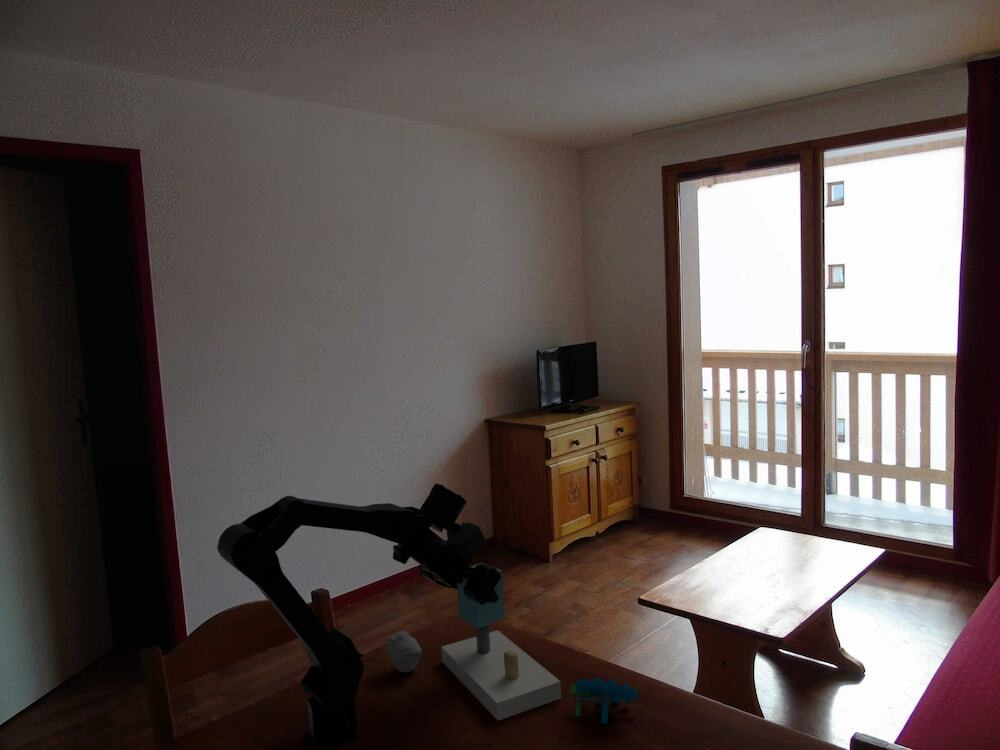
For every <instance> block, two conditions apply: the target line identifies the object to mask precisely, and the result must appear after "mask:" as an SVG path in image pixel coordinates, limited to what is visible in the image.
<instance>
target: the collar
mask: <svg viewBox="0 0 1000 750" xmlns="http://www.w3.org/2000/svg"><path fill="white" fill-rule="evenodd" d="M482 563H483V562H480V563H478V564H477V563H476V564H475V565H472V566H470V567H472V568H474V569H475V568H476V566H477V565H479V564H482ZM494 568H495V569H497V570H498V571H499V572H500V573H501V578H500V580H499V582H498V583H497V585H496V587H495V589H494V590H495V592H496V593H497V595H498V597H499V599H498V601H497V602H496V603H492V602H486V603H485V604H484V605H481V604H479V603H477V602H474V601H472V600H470V599H468V598H467V596H465V595H464V586H465V584H466V583H467V580H465V579H463V578H462V579H463V582H462V583H461V584H457V589H456V590H457V605H458V619H460V620H462V621H463V622H465V623H467V624H469V625H470V626H472V627H475V629H476V628H478V629H479V628H481V627H484V626H486V625H489V626H490V625H492V624H494V623H496V622H499V621H501V620H504V619H505V617H506V616H505V601H504V599H505V598H504V582H503V571H502V570H501V569H499V568H497V567H494ZM468 573H469V572H468ZM470 574H471V573H470Z"/></svg>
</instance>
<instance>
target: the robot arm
mask: <svg viewBox="0 0 1000 750" xmlns="http://www.w3.org/2000/svg"><path fill="white" fill-rule="evenodd" d="M466 505H467V500H466V499H465V498H464V497H463V496H462V495H461V494H458V493H456V492H454V491H452V490H451V489H449V488H447V487H445V485H443V484H441V483H437V482H436V483H434V485H433V486H432V488H431V490H430V493H429V494H428V496H427V497H426V499H425V500H424V501H423V503H422V505H421V507H419V508H418V507H415V506H410V505H409V506H399V505H397V504H393V503H392V502H391V503H389V502H385V503H373V504H369V505H363V506H361V505H360V506H357V505H351V504H343V503H335V502H329V501H322V500H313V499H305V498H299V497H296V496H293V495H286V496H284V497H282V498H280V499H279V500H277V501H275V502H274V503H273V504H272V505H270V506H268V507H266V508H264V509H262V510H260V511H258V512H256V513H254V514H251V515H250V516H248V517H247V518H246V519H244V520H243V521H242V522H240V523H236V524H235V523H234V524H232V525H230V526H228V527H227V528H226V529H224V531H222V532H221V535H220V537H219V539H218V542H217V546H216V548H217V552H218V554H219V556H220V557H221V558H223V560H224V561H226V562H227V563H229V564H230V565H231V566H232V567H234V568H235V569H236V570H237V571H238V572H240V573H241V574H242V575H243V576H244V577H245V578H247V579H248V580H250V581H251V582H252V583H253V584H254V585H255V586H256V587H257V588H258V590H260V592H261V593H262V594H263V595H264V597H265V598H266V599H267V600H268V602H269V603H270V605H272V607H273V608H274V609H275V610H276V611H277V613H278V614H279V615H280V617H281V618H282V619H283V621H284V622H285V624H287V625H288V627H289V628H290V630H292V632H293V633H294V634H295V636H297V638H298V639H299V640H300V642H301V643H302V644H303V646H304V648H305V652H306V656H307V659H308V660H309V663H310V665H311V666H310V667H309V668H308V671H307V672H306V673H305V675H304V676H303V677H302V680H300V683H299V684H300V686H301V688H302V690H303V692H304V694H306V695H308V696H309V698H307V708H308V720H309V727H307V732H308V735H309V737H310V739H311V742H312V744H313V745H314V749H315V750H324V749H327V748H331V747H333V746H336V745H339V744H342V743H345V742H348V741H351V740H354V739H357V738H358V733H357V731H356V728H357V727H358V722H357V709H356V702H355V701H356V698H357V693H358V688H359V685H360V684H359V683H360V681H361V679H362V678H363V674H364V670H365V663H364V662H363V660H362V658H363V657H364V655H365V654H363V653H362V652H360V651H359V650H358V649H356V646H355V644H354V643H353V641H352V639H351V638H350V637H348V635H346V634H344V633H343V632H341V631H340V630H338V629H337V628H336V627H335V626H332V628H331V629H330V631H329V630H328V629H327V628H326V627H325V625H324V624H323V623H322V621H321V620H320V618H318V616H317V615H316V614H315V612H314V611H313V609H312V608H311V607H310V605H309V604H308V603H307V602H306V601H305V600H304V598H303V597H302V596H301V594H300V593H299V592H298V590H297V589H296V588H295V587H294V585H293V584H292V582H291V581H290V580H289V579H288V577H287V576H286V575H285V573H284V572H283V569H282V567H281V563H280V559H279V555H278V554H277V551H278V550H280V549H282V547H284V545H285V544H286V543H287V541H288V540H289V539H290V538H291V536H292V535H293V534H294V533H295V532H296V530H298V529H299V528H300V527H301V526H305V527H313V528H314V527H315V528H323V529H333V530H342V531H351V532H360V533H366V534H369V535H371V536H375V537H378V538H381V539H382V540H386V541H390V542H392V543H396V544H395V545H393V546H392V550H393V551H392V552H393V553H392V559H393V560H394V561H396V562H398V563H400V564H402V565H406V564H407V562H408V561H409V559H410V558H411V559H412V560H413V561H415V562H416V563H418V564H419V568H418V569H419V574H420V575H422V576H423V577H424V578H425V579H427V580H429V581H432V582H433V583H434V582H435V584H437V585H439V586H441V587H444V588H448V589H452V590H453V589H454V590H457V584H461V583H462V582H463V579H465V580H467V583H466V584H465V586H464V595H465V596H467V598H468V599H470V600H472V601H474V602H477V603H479V604H481V605H484V604H485V603H486V602H492V603H496V602H497V601H498V599H499V597H498V595H497V593H496V592H495V590H494V589H495V587H496V585H497V583H498V582H499V580H500V578H501V573H500V572H499V571H498V570H497V569H498V568H496V567H494V566H492V565H489V564H487V563H483V562H481V563H482V564H480V563H478V564H479V565H477V564H476V565H477V566H476V568H475V569H474V568H472V567H471V566H469V565H470V564H471V563H472V561H473V560H474V558H473V556H471V555H473V553H475V552H476V551H477V550H479V549H480V547H481V546H484V545H485V544H486V543H487V539H486V536H485V535H484V533H483V531H482V529H481V527H480V526H479V525H477V524H474V523H472V522H461V524H460V523H457V522H456V521H457V520H458V518H459V517H460V515H461V513H462V512H463V510H464V508H465V507H466ZM431 528H432V529H433V530H432V529H431ZM434 530H435V531H437V532H439V533H443V531H446V537H447V540H445V539H443V538H442V537H440V536H439V535H438V534H437V533H435V531H434ZM495 568H496V569H495ZM468 572H469V573H468ZM470 573H471V574H470ZM462 578H463V579H462Z"/></svg>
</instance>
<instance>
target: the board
mask: <svg viewBox="0 0 1000 750" xmlns="http://www.w3.org/2000/svg"><path fill="white" fill-rule="evenodd" d="M441 658H442V659H441V661H442V663H443V664H444V665H445V667H447V668H448V669H449V671H450V672H451V673H452V674H454V676H455V677H456V678H457V679H458V680H459V681H460V683H462V685H464V686H465V688H467V690H469V692H470V693H471V694H472V695H473V696H474V697H475V698H476V699H477V701H479V702H480V703H481V704H482V705H483V707H484V708H485V709H486V710H487V711H488V712H489V713H490V714H491V715H492V716H493V717H494V718H495V719H496V720H497V721H498V722H499V721H501V720H504V719H508V718H510V717H512V716H515V715H518V714H521V713H524V712H527V711H530V710H533V709H535V708H539V707H541V706H543V705H546V704H549V703H553V702H555V701H557V700H561V699H562V687H561V681H560V680H559V679H558V678H557V677H556V676H555V675H553V674H552V673H551V672H549V671H548V670H547V669H546V668H545V667H544V666H542V665H541V664H540V663H539V662H537V661H536V660H535V659H534V658H532V657H531V656H530V655H529V654H527V653H526V652H525V651H524V650H523V649H521V648H520V646H518V645H516V644H515V643H514V642H513V641H512V640H510V639H509V638H508V637H506V636H505V635H504V634H503V633H502V632H501V631H499V629H498V630H493V631H491V632H490V624H489V625H486V626H484V627H481V628H479V629H478V628H476V627H475V636H473V637H469V638H466V639H463V640H460V641H457V642H452V643H448V644H445V645H443V646H441Z"/></svg>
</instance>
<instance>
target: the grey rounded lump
mask: <svg viewBox="0 0 1000 750" xmlns="http://www.w3.org/2000/svg"><path fill="white" fill-rule="evenodd" d="M420 646H421V645H420V644H419V643H418V641H417V640H416V639H415V638H414V637H413V636H411V635H410V634H408V632H407V631H406V630H401V631H399V632H396V633H394V634H393V635H391V636H390V637H389V638H387V641H386V646H385V650H386V653H387V655H388V659H389V660H390V661H391V664H392V666H393V667H394V668H395V669H396V670H397V671H398V672H401V673H410V672H412V671H413V670H414V669H416V667H417V666H418V664H419V663H420V662H419V660H420V658H421V657H422V648H421V647H420Z"/></svg>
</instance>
